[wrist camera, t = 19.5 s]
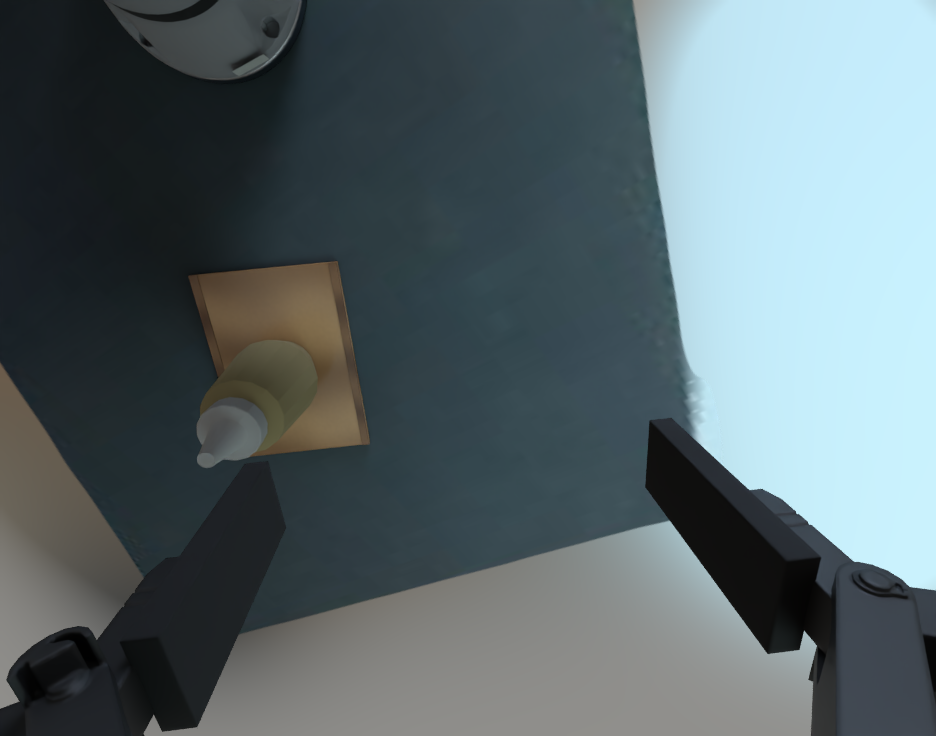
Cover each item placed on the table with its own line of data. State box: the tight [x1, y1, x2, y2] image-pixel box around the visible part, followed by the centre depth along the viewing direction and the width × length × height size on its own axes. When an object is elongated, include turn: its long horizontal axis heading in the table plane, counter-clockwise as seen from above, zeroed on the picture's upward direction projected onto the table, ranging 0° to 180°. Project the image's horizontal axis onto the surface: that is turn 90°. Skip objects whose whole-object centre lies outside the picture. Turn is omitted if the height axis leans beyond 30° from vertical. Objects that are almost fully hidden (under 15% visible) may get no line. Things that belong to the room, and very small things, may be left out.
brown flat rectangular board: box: [188, 261, 370, 457], centre depth 48 cm, size 20×14×1 cm
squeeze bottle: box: [197, 340, 318, 468], centre depth 39 cm, size 8×8×18 cm
